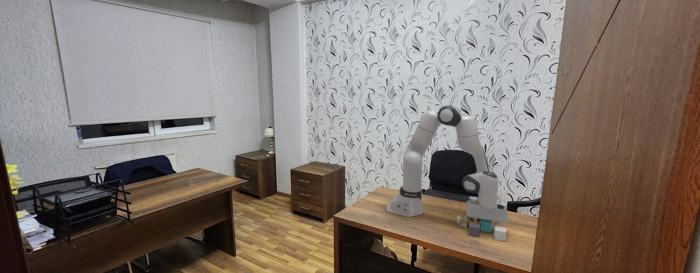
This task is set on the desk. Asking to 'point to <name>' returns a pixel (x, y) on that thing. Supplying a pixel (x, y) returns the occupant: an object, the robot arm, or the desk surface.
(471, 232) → the charcoal cube
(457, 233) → the desk surface
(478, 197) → the puzzle cube
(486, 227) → the teal cube
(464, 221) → the birch cube
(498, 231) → the offwhite cube
